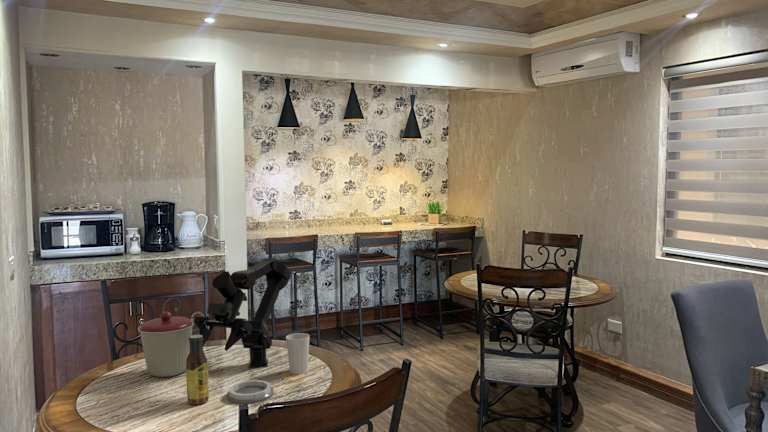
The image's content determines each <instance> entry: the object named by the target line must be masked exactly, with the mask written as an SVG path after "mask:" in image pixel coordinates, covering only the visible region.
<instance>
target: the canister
mask: <svg viewBox="0 0 768 432" xmlns="http://www.w3.org/2000/svg"><path fill="white" fill-rule="evenodd" d="M193 321H194V320H192V319H190V318H189V317H184V316H178V315H177V316H176V315H175V316H172V314H171V312H170V311H163V312H162V313H160V317H157V318H154V319H149V320H147V321H144V323H142V324H141V325H139V326H138V328H137V331H138V332H139V333H140V339H141V344H142V350H143V355H144V360H145V364H146V368H147V371H148V373H149V375H151V376H153V377H157V378H158V377H159V378H165V377H166V378H168V377H174V376H177V375H180V374H182V373H183V374H184V373H186V359H187V357H188V355H189V353H190V342H189V337H190V336H192V335H193V326H195V324H194V323H193Z"/></svg>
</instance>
